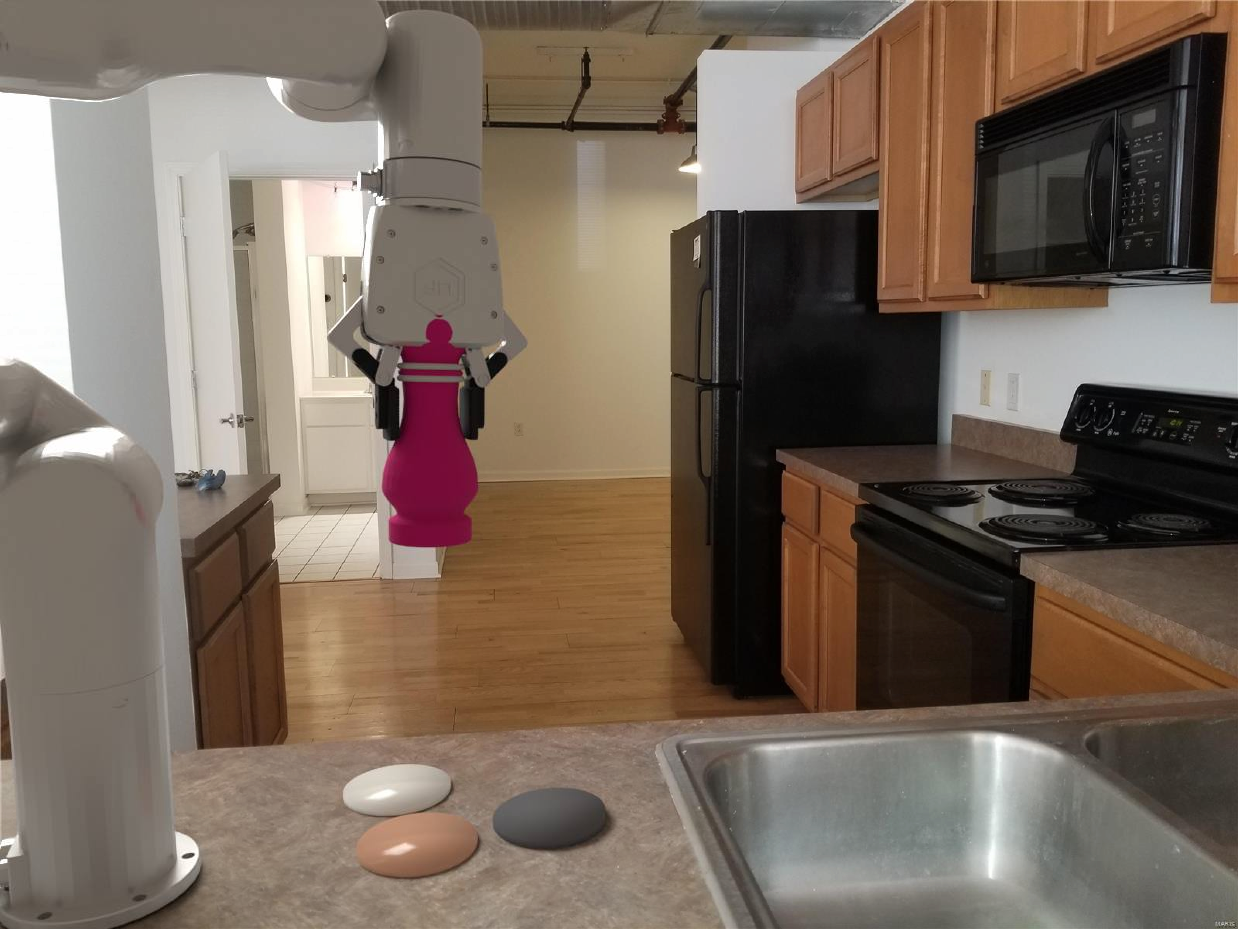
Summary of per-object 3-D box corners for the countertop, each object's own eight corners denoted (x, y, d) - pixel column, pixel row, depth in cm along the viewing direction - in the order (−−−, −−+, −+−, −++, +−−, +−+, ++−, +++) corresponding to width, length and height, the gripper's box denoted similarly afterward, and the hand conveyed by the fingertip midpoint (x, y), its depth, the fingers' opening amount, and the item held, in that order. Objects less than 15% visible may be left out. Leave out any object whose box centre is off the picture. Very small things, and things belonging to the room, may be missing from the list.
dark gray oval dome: (576, 858, 71) (575, 848, 71) (471, 840, 74) (471, 831, 74) (623, 804, 79) (622, 795, 79) (527, 791, 83) (526, 782, 82)
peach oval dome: (364, 893, 67) (363, 882, 67) (350, 834, 75) (350, 824, 75) (490, 867, 70) (490, 857, 70) (463, 814, 79) (463, 804, 79)
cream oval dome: (349, 828, 76) (348, 819, 76) (338, 782, 85) (338, 774, 85) (460, 808, 80) (460, 799, 79) (440, 766, 88) (439, 757, 88)
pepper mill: (363, 545, 71) (362, 271, 69) (410, 530, 78) (409, 280, 76) (453, 552, 69) (454, 270, 67) (492, 536, 76) (494, 280, 74)
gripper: (315, 173, 64) (318, 444, 66) (556, 196, 71) (553, 441, 73) (304, 191, 71) (307, 436, 73) (525, 211, 78) (523, 435, 79)
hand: (430, 436), depth 73 cm, fingers closed on pepper mill, 5 cm apart
